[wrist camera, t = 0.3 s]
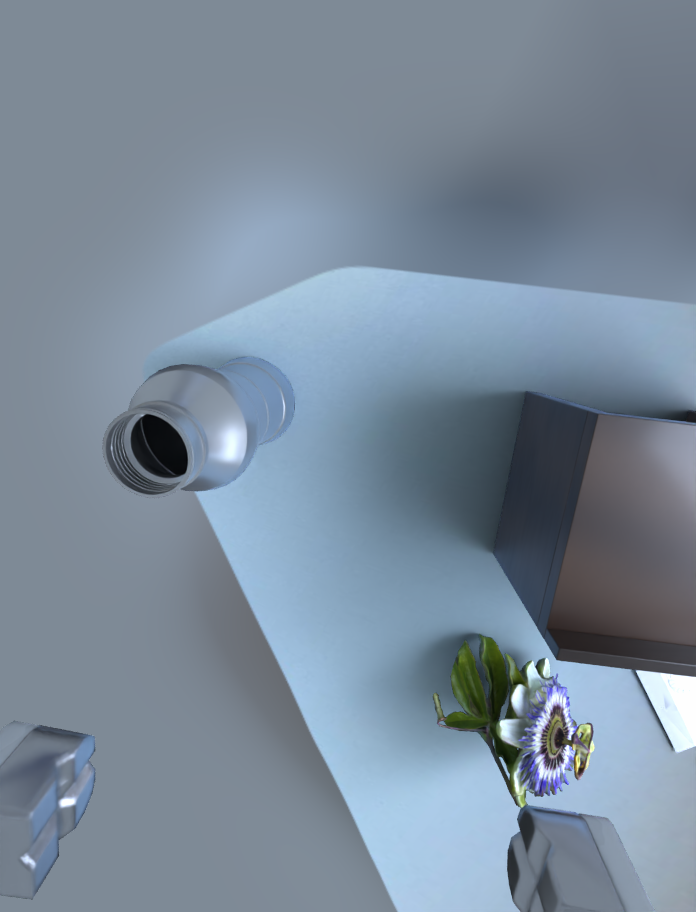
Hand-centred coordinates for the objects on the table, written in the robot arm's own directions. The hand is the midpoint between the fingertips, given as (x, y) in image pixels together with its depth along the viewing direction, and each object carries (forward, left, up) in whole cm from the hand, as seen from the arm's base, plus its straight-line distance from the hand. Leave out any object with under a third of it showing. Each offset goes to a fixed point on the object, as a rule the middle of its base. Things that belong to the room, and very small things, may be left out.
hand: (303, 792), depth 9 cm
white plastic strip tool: (+22, +34, -31) cm, 51 cm away
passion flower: (+21, +16, -31) cm, 41 cm away
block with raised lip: (+1, +20, -31) cm, 37 cm away
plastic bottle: (-3, -8, -31) cm, 32 cm away
